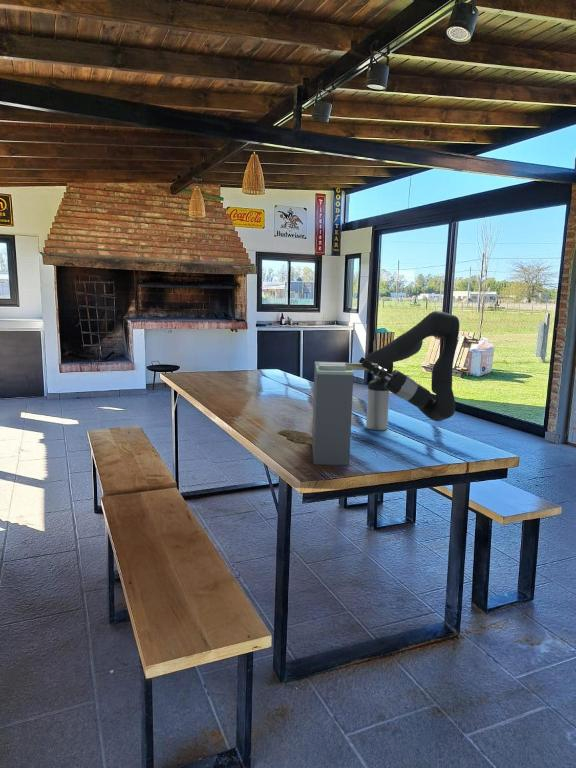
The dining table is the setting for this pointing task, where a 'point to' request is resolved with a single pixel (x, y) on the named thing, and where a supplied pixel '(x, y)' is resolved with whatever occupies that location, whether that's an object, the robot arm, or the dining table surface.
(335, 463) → the blue-grey rectangular block
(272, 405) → the dining table surface
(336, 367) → the hammer
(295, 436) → the wooden fragment
